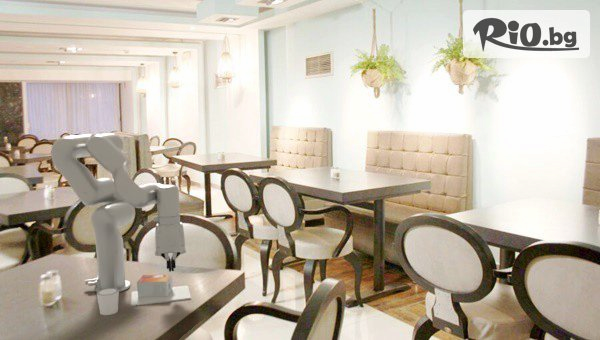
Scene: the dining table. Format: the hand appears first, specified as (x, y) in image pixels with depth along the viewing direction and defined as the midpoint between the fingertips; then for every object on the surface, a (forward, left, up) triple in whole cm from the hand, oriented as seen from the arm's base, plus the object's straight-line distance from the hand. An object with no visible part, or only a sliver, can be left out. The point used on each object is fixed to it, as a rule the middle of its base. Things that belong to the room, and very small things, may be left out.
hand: (171, 270), depth 187 cm
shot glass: (-21, -9, -9) cm, 25 cm away
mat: (-4, 0, -9) cm, 10 cm away
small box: (-1, +1, -6) cm, 6 cm away
